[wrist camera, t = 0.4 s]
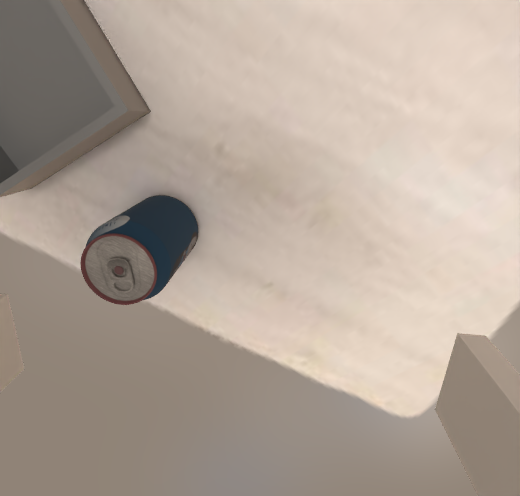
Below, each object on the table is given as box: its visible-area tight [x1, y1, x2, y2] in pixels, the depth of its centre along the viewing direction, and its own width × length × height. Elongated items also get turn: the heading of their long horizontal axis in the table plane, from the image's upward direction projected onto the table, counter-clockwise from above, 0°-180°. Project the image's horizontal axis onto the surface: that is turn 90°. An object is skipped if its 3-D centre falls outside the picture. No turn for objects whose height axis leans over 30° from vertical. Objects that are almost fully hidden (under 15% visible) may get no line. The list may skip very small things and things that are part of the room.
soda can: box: [81, 195, 198, 305], centre depth 32 cm, size 7×7×12 cm
